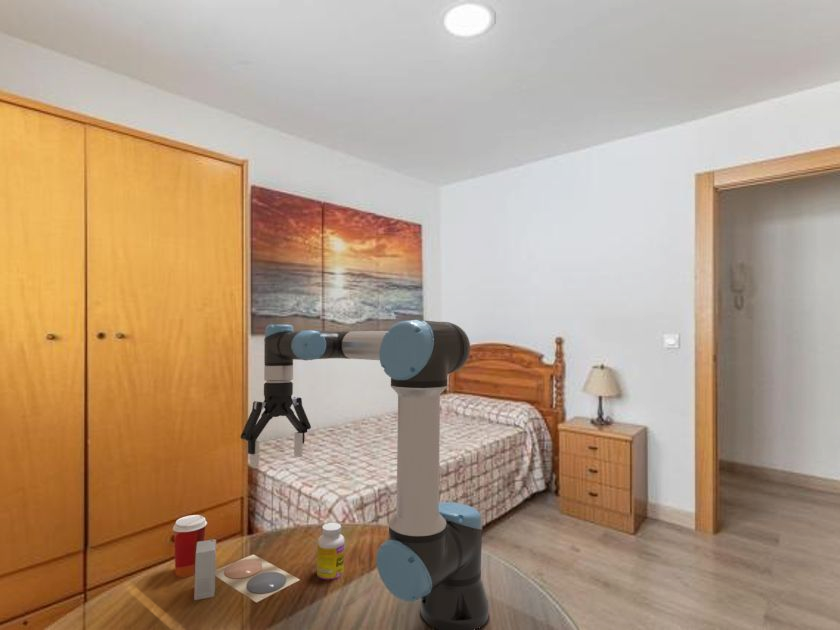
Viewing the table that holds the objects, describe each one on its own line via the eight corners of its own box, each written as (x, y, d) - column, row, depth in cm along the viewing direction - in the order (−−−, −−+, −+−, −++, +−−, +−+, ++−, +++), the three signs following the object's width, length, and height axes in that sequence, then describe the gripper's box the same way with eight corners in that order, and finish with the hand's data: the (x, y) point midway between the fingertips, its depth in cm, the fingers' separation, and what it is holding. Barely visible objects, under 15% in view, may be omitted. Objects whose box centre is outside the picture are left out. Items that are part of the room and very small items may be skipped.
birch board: (300, 586, 110) (300, 579, 110) (256, 609, 101) (256, 602, 101) (253, 559, 122) (253, 554, 122) (209, 578, 113) (210, 572, 113)
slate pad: (293, 581, 109) (293, 580, 109) (261, 598, 102) (261, 597, 102) (271, 569, 115) (271, 568, 115) (238, 584, 108) (239, 583, 108)
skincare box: (194, 593, 106) (196, 541, 107) (214, 589, 108) (216, 538, 109) (193, 607, 101) (195, 553, 101) (214, 603, 103) (216, 549, 103)
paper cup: (195, 565, 119) (197, 511, 119) (211, 575, 114) (213, 519, 115) (164, 578, 112) (166, 521, 113) (179, 589, 108) (182, 529, 108)
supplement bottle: (337, 587, 110) (338, 533, 110) (312, 583, 111) (313, 530, 112) (347, 573, 117) (348, 522, 117) (323, 569, 118) (324, 519, 118)
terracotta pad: (269, 568, 115) (269, 566, 115) (236, 583, 108) (236, 581, 108) (249, 557, 121) (249, 555, 121) (216, 570, 114) (217, 569, 114)
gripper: (307, 378, 135) (306, 451, 133) (227, 383, 115) (225, 468, 114) (323, 379, 130) (322, 454, 129) (243, 385, 111) (241, 473, 109)
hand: (277, 461), depth 121 cm, fingers open, 13 cm apart
